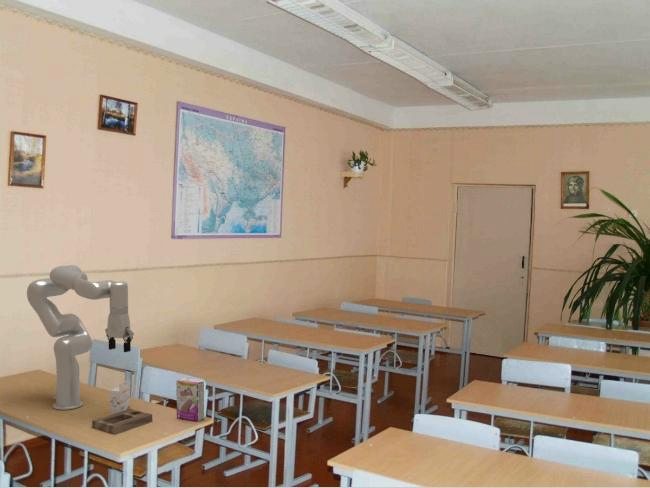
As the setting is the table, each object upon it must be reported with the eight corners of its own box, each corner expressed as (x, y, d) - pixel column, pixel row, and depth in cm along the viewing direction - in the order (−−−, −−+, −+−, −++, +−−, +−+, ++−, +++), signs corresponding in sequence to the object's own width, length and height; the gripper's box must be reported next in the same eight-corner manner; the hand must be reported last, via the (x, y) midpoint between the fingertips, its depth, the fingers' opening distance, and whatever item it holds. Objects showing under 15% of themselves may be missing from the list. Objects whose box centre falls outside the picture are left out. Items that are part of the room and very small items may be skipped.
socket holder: (92, 427, 259) (92, 420, 259) (129, 415, 275) (129, 408, 274) (114, 434, 251) (114, 426, 251) (152, 421, 267) (152, 414, 267)
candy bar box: (175, 418, 271) (175, 380, 270) (183, 415, 275) (183, 377, 275) (197, 422, 266) (197, 383, 265) (204, 418, 271) (204, 380, 270)
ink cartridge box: (120, 411, 280) (119, 378, 280) (130, 412, 279) (130, 378, 279) (109, 417, 272) (109, 383, 271) (120, 418, 271) (119, 383, 270)
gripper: (98, 310, 275) (99, 349, 276) (125, 313, 266) (125, 354, 266) (113, 308, 281) (113, 346, 282) (139, 311, 272) (140, 351, 273)
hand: (119, 350), depth 274 cm, fingers open, 9 cm apart
